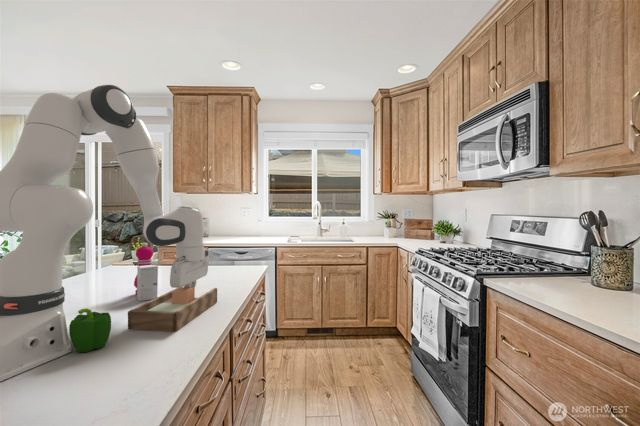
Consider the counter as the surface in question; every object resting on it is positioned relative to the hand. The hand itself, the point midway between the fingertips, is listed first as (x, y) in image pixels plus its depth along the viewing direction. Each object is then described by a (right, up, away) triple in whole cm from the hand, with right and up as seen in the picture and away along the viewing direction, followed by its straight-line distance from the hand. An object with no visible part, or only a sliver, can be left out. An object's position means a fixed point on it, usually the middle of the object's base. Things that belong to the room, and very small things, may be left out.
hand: (190, 294), depth 111 cm
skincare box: (-19, -4, +9) cm, 22 cm away
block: (0, -1, -5) cm, 5 cm away
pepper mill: (-24, -4, +15) cm, 28 cm away
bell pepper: (-11, -5, -33) cm, 35 cm away
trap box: (-1, -4, -8) cm, 9 cm away
